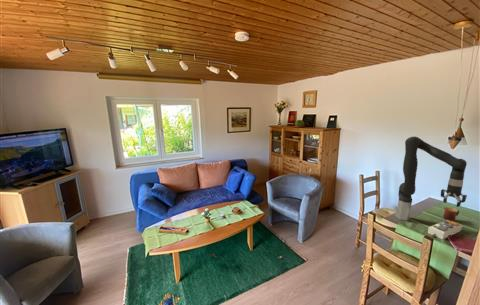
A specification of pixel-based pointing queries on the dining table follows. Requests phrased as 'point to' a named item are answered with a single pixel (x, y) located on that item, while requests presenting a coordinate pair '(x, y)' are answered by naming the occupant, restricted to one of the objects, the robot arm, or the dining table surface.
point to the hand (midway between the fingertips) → (451, 204)
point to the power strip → (444, 234)
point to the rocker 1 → (442, 227)
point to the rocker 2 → (453, 222)
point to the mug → (450, 213)
